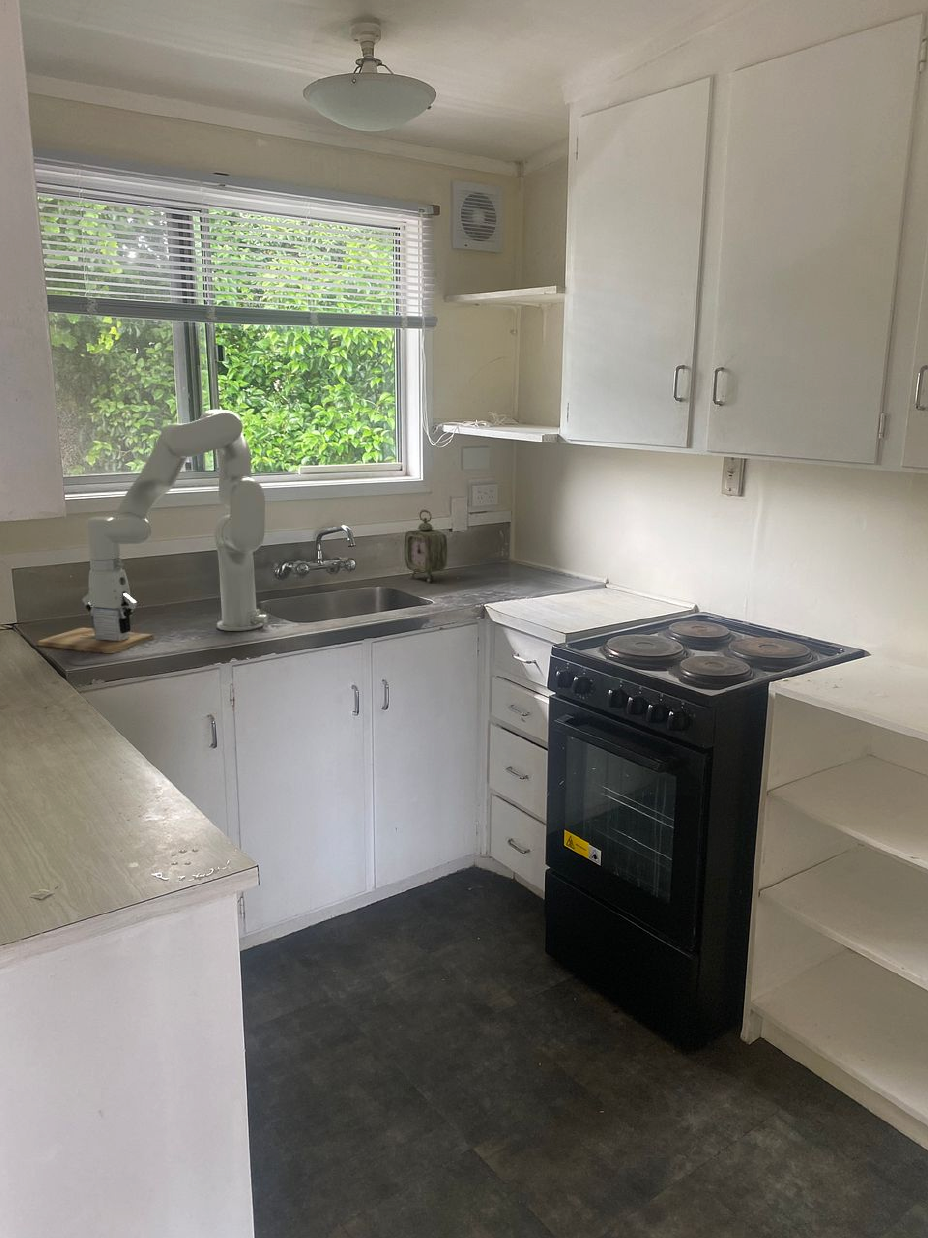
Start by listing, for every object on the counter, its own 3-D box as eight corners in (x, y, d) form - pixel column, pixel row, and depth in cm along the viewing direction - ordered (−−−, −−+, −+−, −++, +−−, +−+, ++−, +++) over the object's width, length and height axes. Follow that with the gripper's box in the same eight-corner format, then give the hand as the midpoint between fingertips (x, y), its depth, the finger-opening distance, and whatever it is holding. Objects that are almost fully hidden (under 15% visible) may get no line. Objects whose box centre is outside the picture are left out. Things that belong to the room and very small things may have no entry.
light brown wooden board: (153, 638, 249) (153, 634, 248) (112, 653, 234) (112, 649, 234) (81, 631, 257) (81, 627, 256) (37, 645, 242) (37, 640, 242)
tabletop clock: (404, 578, 332) (403, 508, 327) (425, 575, 338) (424, 507, 332) (428, 584, 321) (427, 512, 315) (449, 581, 327) (448, 510, 321)
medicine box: (130, 638, 244) (128, 606, 242) (119, 642, 240) (116, 609, 238) (106, 635, 247) (103, 604, 245) (94, 639, 242) (91, 607, 240)
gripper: (143, 564, 239) (148, 630, 243) (89, 560, 245) (95, 624, 249) (123, 569, 232) (129, 637, 236) (68, 565, 238) (75, 631, 242)
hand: (112, 630), depth 243 cm, fingers closed on medicine box, 8 cm apart
